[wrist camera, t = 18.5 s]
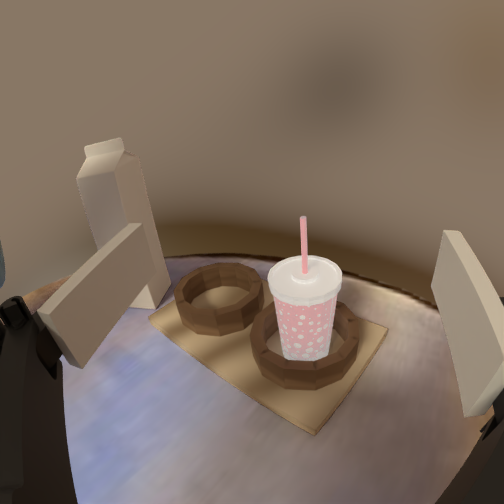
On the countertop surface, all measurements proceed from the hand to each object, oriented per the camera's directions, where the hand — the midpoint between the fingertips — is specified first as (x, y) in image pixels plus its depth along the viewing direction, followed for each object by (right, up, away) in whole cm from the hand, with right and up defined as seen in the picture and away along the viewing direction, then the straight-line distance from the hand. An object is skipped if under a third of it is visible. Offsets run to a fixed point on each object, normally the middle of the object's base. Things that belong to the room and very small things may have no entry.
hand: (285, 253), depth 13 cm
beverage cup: (+4, -10, +17) cm, 20 cm away
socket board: (0, -9, +21) cm, 23 cm away
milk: (-16, -6, +30) cm, 35 cm away
